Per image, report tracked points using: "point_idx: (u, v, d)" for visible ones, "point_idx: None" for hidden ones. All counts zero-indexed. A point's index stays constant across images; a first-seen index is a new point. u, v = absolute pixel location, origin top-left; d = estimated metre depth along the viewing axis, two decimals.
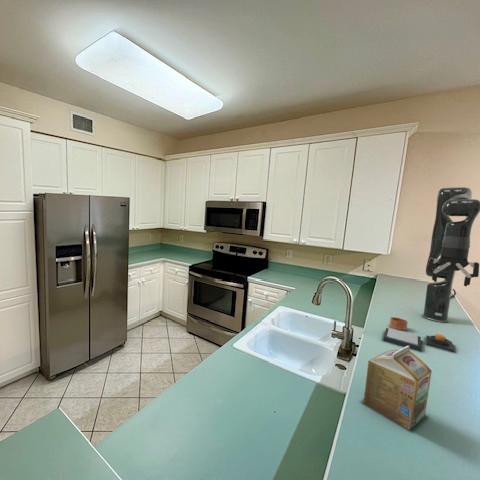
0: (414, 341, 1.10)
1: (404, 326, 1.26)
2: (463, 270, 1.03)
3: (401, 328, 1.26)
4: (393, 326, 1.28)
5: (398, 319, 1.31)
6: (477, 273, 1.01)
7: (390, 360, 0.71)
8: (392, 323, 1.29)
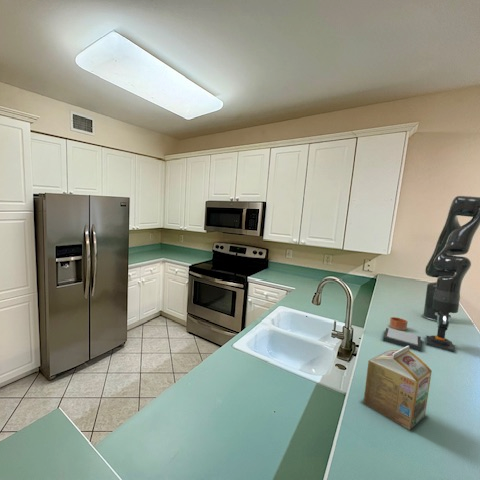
0: (414, 341, 1.10)
1: (404, 326, 1.26)
2: (437, 321, 1.12)
3: (401, 328, 1.26)
4: (393, 326, 1.28)
5: (398, 319, 1.31)
6: (439, 326, 1.10)
7: (390, 360, 0.71)
8: (392, 323, 1.29)
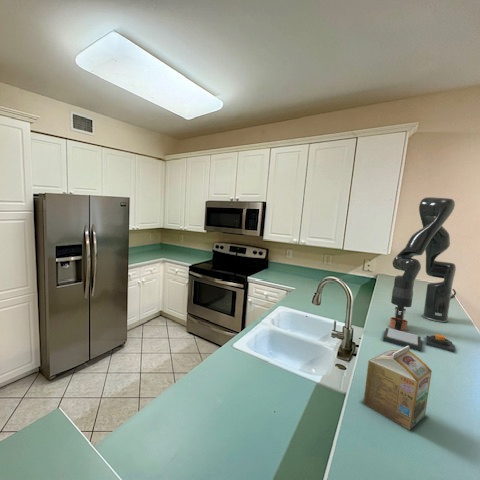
0: (414, 341, 1.10)
1: (404, 326, 1.26)
2: None
3: (401, 328, 1.26)
4: (393, 326, 1.28)
5: (398, 319, 1.31)
6: None
7: (390, 360, 0.71)
8: (392, 323, 1.29)
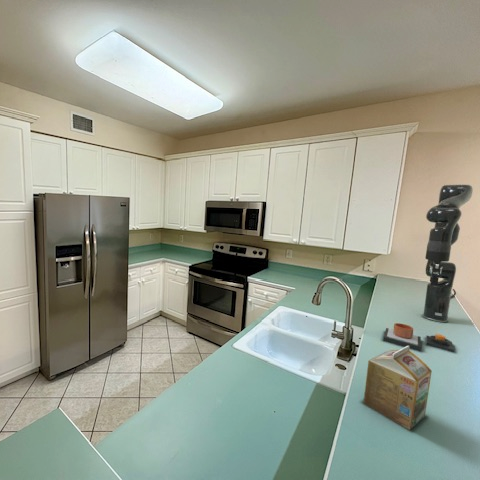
0: (414, 341, 1.10)
1: (410, 333, 1.12)
2: (430, 270, 1.17)
3: (406, 336, 1.12)
4: (397, 333, 1.15)
5: (403, 325, 1.17)
6: (432, 273, 1.14)
7: (390, 360, 0.71)
8: (396, 330, 1.15)
